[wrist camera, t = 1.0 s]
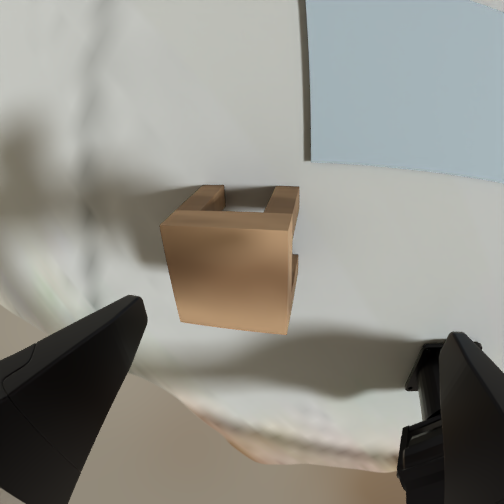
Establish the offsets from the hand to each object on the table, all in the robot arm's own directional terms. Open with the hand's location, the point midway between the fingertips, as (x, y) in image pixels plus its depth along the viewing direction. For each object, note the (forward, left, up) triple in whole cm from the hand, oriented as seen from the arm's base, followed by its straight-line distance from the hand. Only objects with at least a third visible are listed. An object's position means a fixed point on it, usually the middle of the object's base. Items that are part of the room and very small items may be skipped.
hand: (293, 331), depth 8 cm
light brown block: (-4, +4, -13) cm, 14 cm away
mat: (+7, -7, -13) cm, 17 cm away
